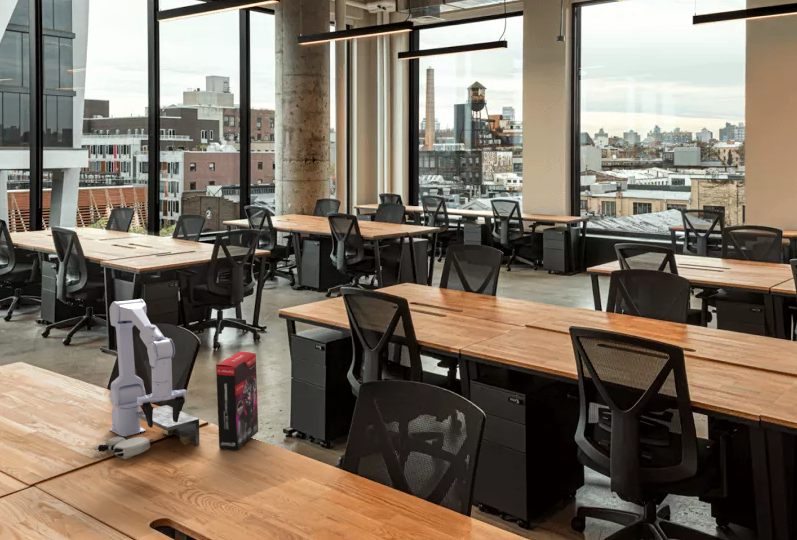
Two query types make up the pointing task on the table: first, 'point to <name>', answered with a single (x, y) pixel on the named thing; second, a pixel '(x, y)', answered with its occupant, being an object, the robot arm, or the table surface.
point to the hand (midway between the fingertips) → (162, 424)
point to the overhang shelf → (175, 424)
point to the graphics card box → (237, 400)
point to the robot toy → (125, 446)
